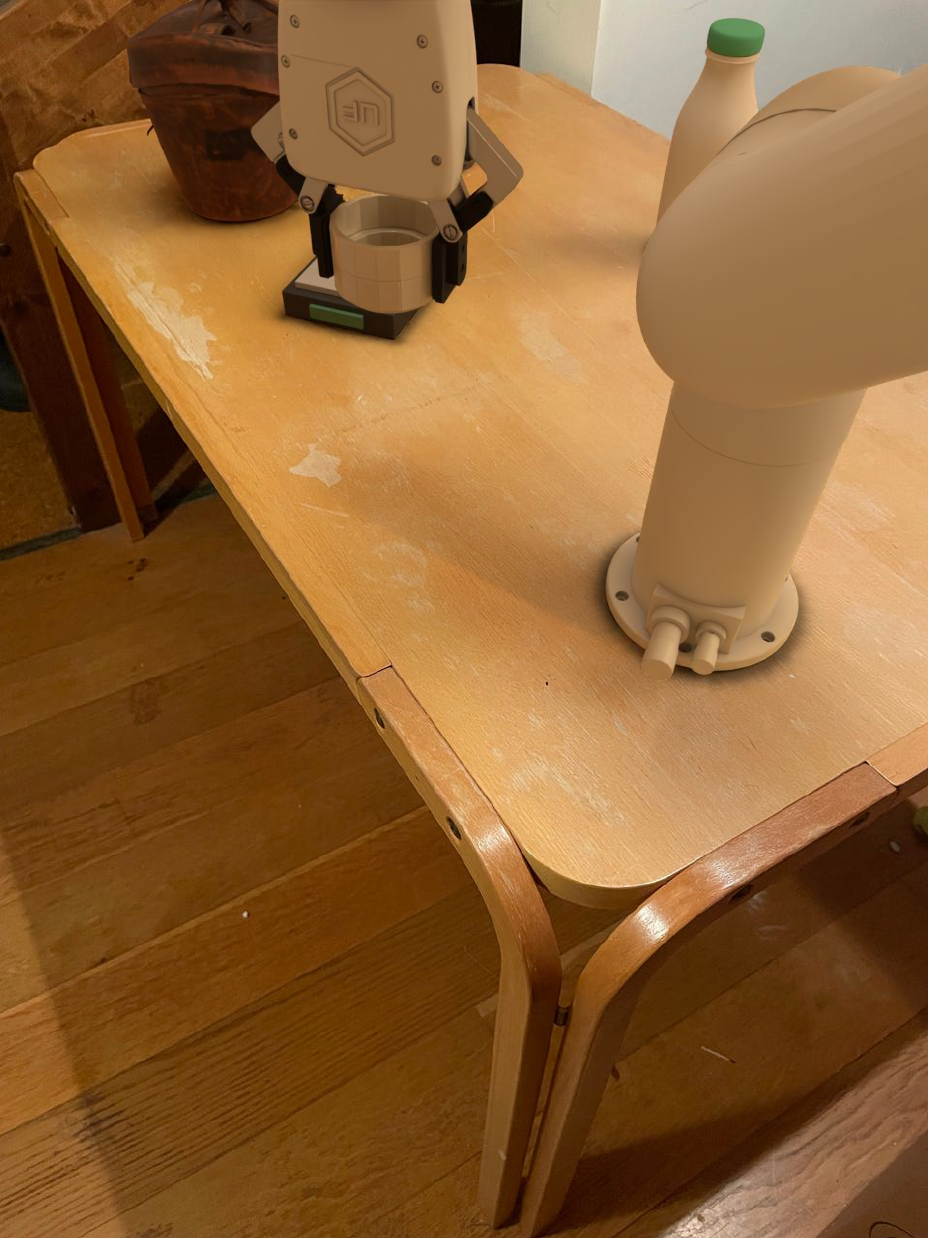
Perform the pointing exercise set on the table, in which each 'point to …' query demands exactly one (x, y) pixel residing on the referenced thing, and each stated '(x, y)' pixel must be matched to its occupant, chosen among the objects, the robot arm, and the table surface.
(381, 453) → the table surface
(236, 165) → the brown flower pot
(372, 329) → the scale
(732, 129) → the milk bottle
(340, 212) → the small cup
